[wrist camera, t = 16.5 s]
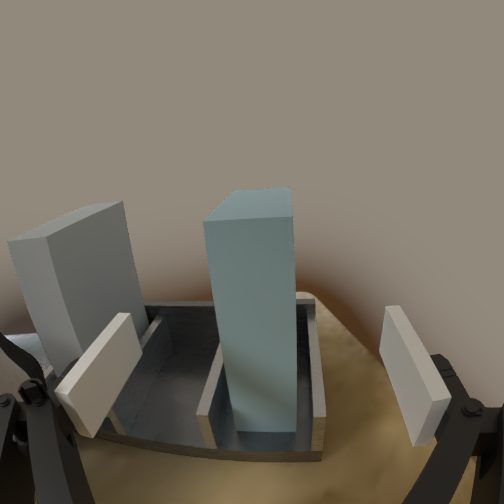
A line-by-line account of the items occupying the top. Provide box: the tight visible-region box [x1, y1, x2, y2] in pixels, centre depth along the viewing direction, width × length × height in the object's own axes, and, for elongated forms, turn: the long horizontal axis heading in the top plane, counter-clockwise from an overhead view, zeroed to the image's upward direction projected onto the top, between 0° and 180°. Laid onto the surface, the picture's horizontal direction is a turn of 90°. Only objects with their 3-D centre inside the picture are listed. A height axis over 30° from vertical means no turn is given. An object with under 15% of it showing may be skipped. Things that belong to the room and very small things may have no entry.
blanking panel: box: [203, 187, 297, 432], centre depth 23 cm, size 4×10×16 cm, turn 174°
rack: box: [43, 299, 326, 462], centre depth 26 cm, size 23×14×8 cm, turn 84°
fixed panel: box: [7, 201, 149, 418], centre depth 25 cm, size 4×11×16 cm, turn 174°
